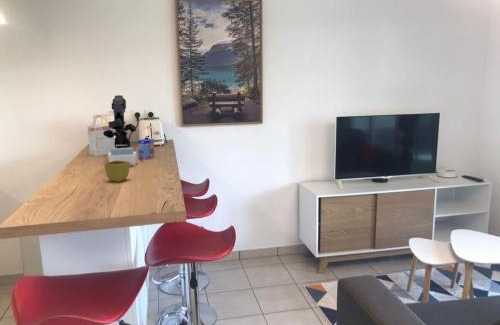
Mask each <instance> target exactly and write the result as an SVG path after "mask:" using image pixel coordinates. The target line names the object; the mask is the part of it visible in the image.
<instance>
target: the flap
mask: <svg viewBox="0 0 500 325" xmlns="http://www.w3.org/2000/svg"><path fill="white" fill-rule="evenodd" d="M110 150H111V155H126V154H133V151H134V147H127V148H118V149H116V148H115V149H110Z"/></svg>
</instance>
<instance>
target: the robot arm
mask: <svg viewBox="0 0 500 325" xmlns="http://www.w3.org/2000/svg"><path fill="white" fill-rule="evenodd" d="M126 109H127V101H126V99H125V98H124V96H123V95H120V94H119V95H118V94H117V95H114V98H113V99H112V102H111V110H112V111H113V120H112V121H109V122H107V124H109V128H112V129H113V130H112V131H111V130H106V131H104V132H103V135H104V136H106V137H108V138H112V137H114V146H115V149H118V148H131V147H130V146H131V145H130V139H129V137H128V135H129V134H128V131H130V132H131V133H133V132H136V131H137V126H135V125H134V124H132V123H128V124H126V123H127V122H126V121H125V113H126Z"/></svg>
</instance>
